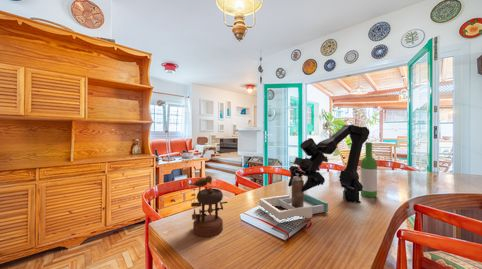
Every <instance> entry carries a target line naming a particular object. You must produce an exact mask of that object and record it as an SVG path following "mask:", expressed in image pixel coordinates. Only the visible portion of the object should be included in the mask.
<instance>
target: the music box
mask: <svg viewBox="0 0 482 269" xmlns="http://www.w3.org/2000/svg"><path fill="white" fill-rule="evenodd" d="M212 181H213V177H212V176H210V175H207V176H206V177H202V178H199V179H197V180H196V181H194V182H192V183H191V182H190V183H188V186H189V187H190V186H191V187H192V186H194V188H193V190H194V198H193V202H191V203H190V208H193V207H194V209H193V213H192V214H191V220H192V221H193V222H192V223H193V225H192V226H193V231H192V232H193V234H194V236H196V237H199V238H204V239H207V238H208V239H209V238H214V237H217V236H219V235H220V234H221V233H222V232H223V228H224V225H223V224H224V223H223V222H224V221H223V218H222V217H220V215H219V212H218V211H221V210H222V211H223V210H224V207H223V204H228V201H222V200H223V197H224V196H223V195H224V194H223V192H222V190H221V189H218V188H213V187H212V186H208V188H204V189H201V187H205V186H207V185H208V184H210V185H213V183H212ZM196 187H198V192H197V195H195V194H196V192H195V191H196ZM195 196H196V198H195ZM195 200H197V201H196V202H195ZM219 205H220V207H219ZM206 206H208V208H207V209H205V208H206ZM213 206H214V208H213ZM195 207H201V208H199V210H198V213H196V208H195ZM213 212H214V214H212V213H213ZM207 213H208V214H207Z"/></svg>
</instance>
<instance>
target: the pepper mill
mask: <svg viewBox="0 0 482 269" xmlns="http://www.w3.org/2000/svg"><path fill="white" fill-rule="evenodd" d="M304 184H305V181H304V179H303V177H302V176H301V177H299V176H295V177H293V180H292V186H291V198H292V206H293V207H295V208H299V207H304V193H305V191H304V192H302V191H301V189H302V187H303V186H304Z"/></svg>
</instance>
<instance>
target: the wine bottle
mask: <svg viewBox="0 0 482 269" xmlns="http://www.w3.org/2000/svg"><path fill="white" fill-rule="evenodd" d="M360 183H361V184H362V186H363V189H362V190H361V191H360V195H361V196H363V197H366V198H376V197H377V196H378V162H377V160H376V159H375V158H374V157H373V143H372V142H367V141H365V156H364V157H363V158H361V160H360Z"/></svg>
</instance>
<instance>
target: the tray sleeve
mask: <svg viewBox="0 0 482 269" xmlns="http://www.w3.org/2000/svg"><path fill="white" fill-rule="evenodd" d="M285 198H291V197H290V195H289V194H284V195H277V196H276V195H275V196H269V197H263V198H259V201H258V202H259V206H261V207H263V208H264V209H265V210H267V211H268V212H269V213H271V214H272V215H274V216H275V217H276V218H278V219H279V220H282V219H287V218H291V217H294V216H305V217H306V218H307V219H310V218H311V219H312V218H313V214H312V206H305V207H299V208H293V209H288V210H287V209H283V210H282V209H281V210H280V209H278V208H277V207H274V206H272V205H275V206H278V207H281V206H280V204H279V199H285ZM259 206H258V207H259Z"/></svg>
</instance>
